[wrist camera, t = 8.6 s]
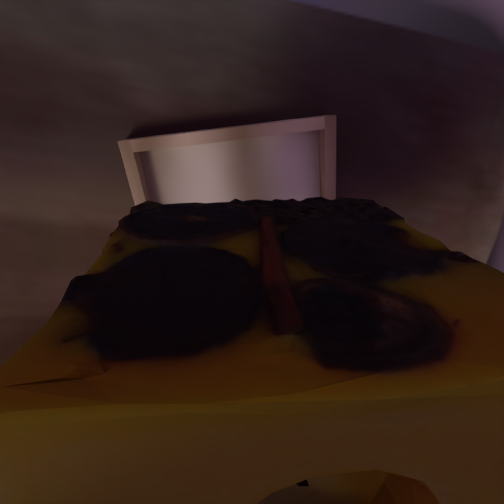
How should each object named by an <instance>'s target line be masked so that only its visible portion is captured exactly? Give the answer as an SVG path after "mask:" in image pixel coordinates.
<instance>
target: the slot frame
mask: <svg viewBox="0 0 504 504" xmlns="http://www.w3.org/2000/svg"><path fill="white" fill-rule="evenodd" d="M118 144H119V148H120V152H121V155H122V159H123V163H124V166H125V170H126V174H127V177H128V181H129V185H130V188H131V192H132V196H133V199H134V203H135V206H136V205H138V204H140V203H143V202H145V201H147V200H149V201H153V202H157V203H161V204H176V203H194V202H198V203H215V202H230V201H232V200H234V199H238V200H241V201H246V200H254V199H258V200H269V201H272V200H274V199H280V200H288V199H292V198H293V199H295V200H297V201H302V200H304V199H306V198H313V197H324V198H326V199H329V200H334V199H336V115H323V116H314V117H306V118H298V119H289V120H281V121H273V122H264V123H256V124H248V125H239V126H231V127H223V128H214V129H206V130H198V131H189V132H181V133H173V134H164V135H156V136H148V137H139V138H131V139H124V140H121V141H118Z"/></svg>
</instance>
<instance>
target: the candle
mask: <svg viewBox="0 0 504 504" xmlns="http://www.w3.org/2000/svg"><path fill="white" fill-rule="evenodd" d="M0 504H504V273H502V272H501V271H499V270H497V269H495V268H493V267H491V266H489V265H487V264H484V263H482V262H479V261H477V260H475V259H472V258H470V257H469V256H467V255H466V254H464V253H462V252H453V251H450V250H449V249H448V248H447V247H446V246H445V245H444V244H443V243H442V242H441V241H439V240H437V239H434V238H432V237H430V236H427V235H425V234H423V233H421V232H419V231H417V230H416V229H414V228H412V227H410V226H409V225H407V224H406V222H405V221H404V218H403V217H401V216H399V215H398V214H396V213H395V212H393V211H391V210H390V209H388V208H387V207H381V206H380V205H378V204H376V203H375V202H374V200H365V199H352V198H338V199H334V200H329V199H326V198H324V197H313V198H306V199H304V200H302V201H297V200H295V199H293V198H292V199H288V200H280V199H274V200H272V201H269V200H258V199H254V200H246V201H241V200H238V199H234V200H232V201H230V202H215V203H198V202H194V203H176V204H161V203H157V202H153V201H149V200H147V201H145V202H143V203H140V204H138V205H136V206H134V207H132V208H131V210H130V214H129V215H127V216H125V217H123V218H122V219H121V220H120V221H119V226H118V227H117V229H116V230H115V231H114V232H113V233H111V234H110V239H109V241H108V242H107V244H106V245H105V247H104V249H103V251H102V254H101V256H100V257H99V258H98V259H97V261H96V262H95V263H94V264H93V266H92V267H91V268H90V269H89V270H88V272H87V273H86V274H85V275H82V276H76V277H75V278H73V279H72V280H71V282H70V284H69V286H68V288H67V290H66V292H65V294H64V296H63V299H62V301H61V303H60V305H59V306H58V307H57V309H56V310H55V312H54V313H53V315H52V316H51V318H50V319H49V321H48V322H47V324H46V325H45V326H44V327H43V328H42V329H40V330H39V331H38V332H37V333H36V334H35V335H34V336H33V337H32V338H31V339H30V340H29V341H28V342H27V343H25V344H24V345H23V346H22V347H21V348H20V349H19V350H18V351H17V352H16V353H15V354H14V355H13V356H12V357H10V358H9V359H8V360H7V361H6V362H5V363H4V364H3V365H2V366H1V367H0Z"/></svg>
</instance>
